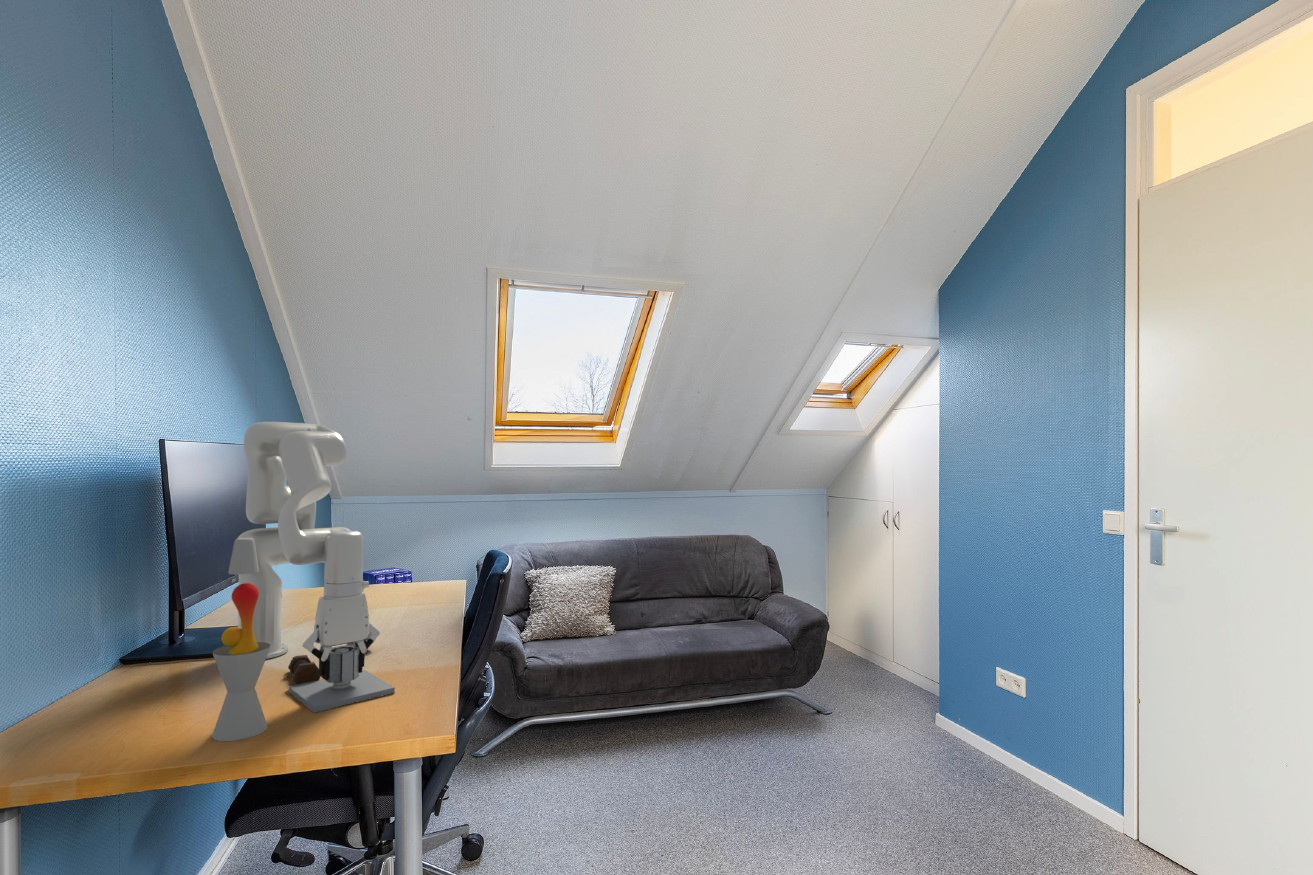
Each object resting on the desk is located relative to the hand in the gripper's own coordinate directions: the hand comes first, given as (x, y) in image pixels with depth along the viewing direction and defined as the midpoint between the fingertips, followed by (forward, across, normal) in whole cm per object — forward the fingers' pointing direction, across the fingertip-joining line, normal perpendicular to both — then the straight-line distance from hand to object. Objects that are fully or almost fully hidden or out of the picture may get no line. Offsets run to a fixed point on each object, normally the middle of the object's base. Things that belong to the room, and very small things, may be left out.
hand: (341, 673), depth 144 cm
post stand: (+4, 0, 0) cm, 4 cm away
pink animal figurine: (+4, -13, -27) cm, 30 cm away
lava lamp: (+4, +21, +8) cm, 23 cm away
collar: (+1, 0, 0) cm, 1 cm away
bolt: (+4, +3, -16) cm, 17 cm away
